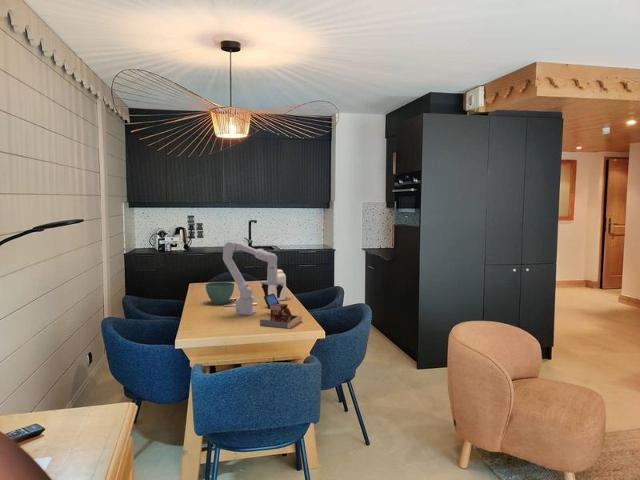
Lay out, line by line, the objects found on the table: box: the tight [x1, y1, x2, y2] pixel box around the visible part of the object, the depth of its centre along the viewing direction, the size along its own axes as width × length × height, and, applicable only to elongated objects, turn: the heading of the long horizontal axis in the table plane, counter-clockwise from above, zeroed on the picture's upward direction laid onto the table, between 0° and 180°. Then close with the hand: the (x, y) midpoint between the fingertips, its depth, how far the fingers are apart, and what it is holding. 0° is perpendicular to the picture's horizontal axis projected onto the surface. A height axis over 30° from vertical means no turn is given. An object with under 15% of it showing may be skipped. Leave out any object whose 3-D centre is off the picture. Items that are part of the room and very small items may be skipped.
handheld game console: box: [263, 294, 288, 310], centre depth 300 cm, size 12×11×7 cm
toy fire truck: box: [269, 304, 293, 322], centre depth 259 cm, size 7×12×10 cm, turn 71°
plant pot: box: [205, 281, 235, 305], centre depth 310 cm, size 18×18×12 cm
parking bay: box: [259, 314, 303, 329], centre depth 259 cm, size 18×16×3 cm
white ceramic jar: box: [266, 268, 287, 302], centre depth 323 cm, size 12×12×20 cm
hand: (272, 297), depth 282 cm, fingers open, 7 cm apart
